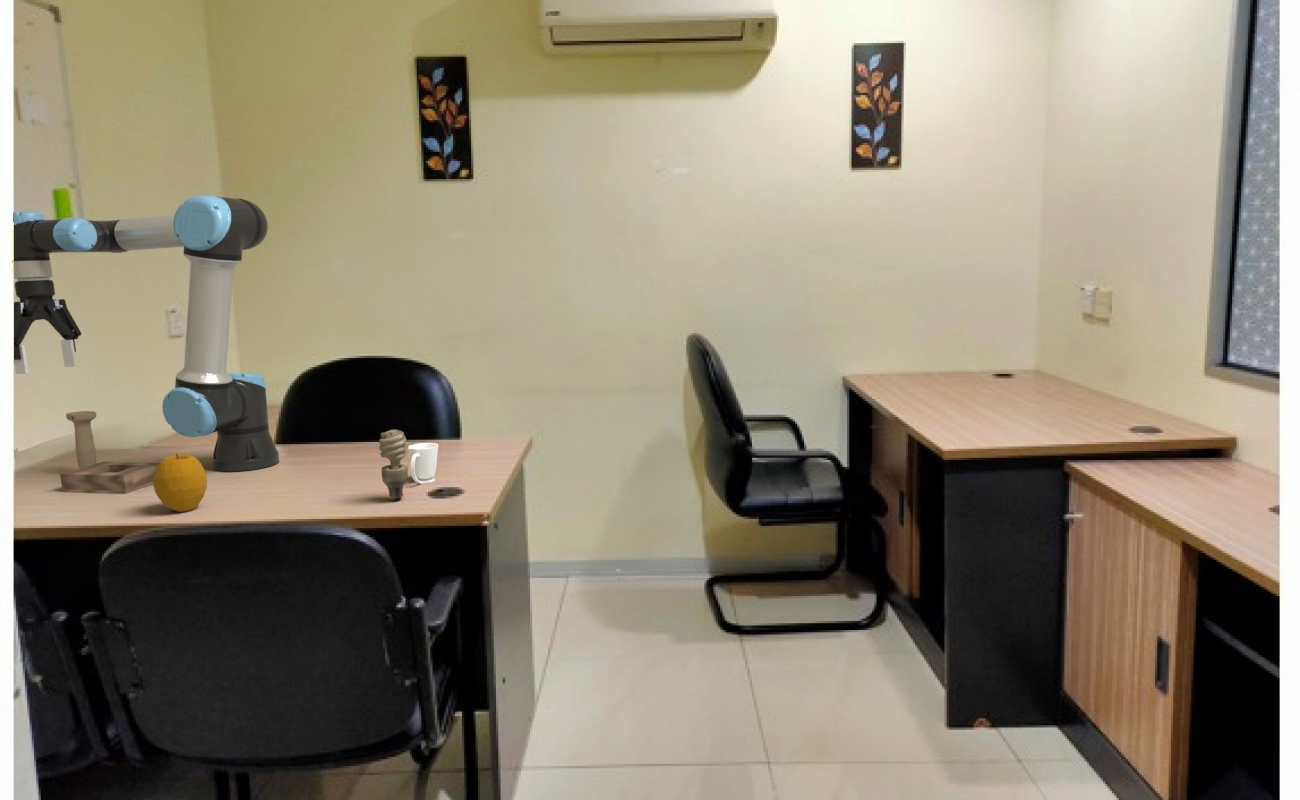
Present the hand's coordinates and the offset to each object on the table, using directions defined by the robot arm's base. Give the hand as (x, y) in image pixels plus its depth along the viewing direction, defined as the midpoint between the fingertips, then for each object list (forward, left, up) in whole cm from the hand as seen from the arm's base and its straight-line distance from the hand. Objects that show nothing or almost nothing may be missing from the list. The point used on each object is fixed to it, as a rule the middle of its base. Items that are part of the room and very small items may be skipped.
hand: (47, 370), depth 207 cm
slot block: (-23, +9, -25) cm, 35 cm away
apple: (-53, +25, -26) cm, 63 cm away
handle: (-8, 0, -25) cm, 27 cm away
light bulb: (-94, +14, -25) cm, 98 cm away
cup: (-93, -1, -26) cm, 96 cm away
